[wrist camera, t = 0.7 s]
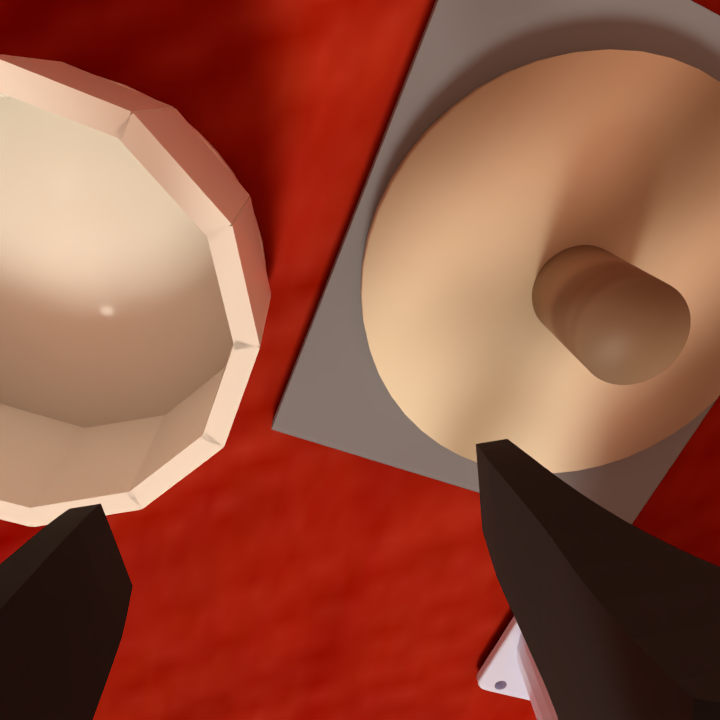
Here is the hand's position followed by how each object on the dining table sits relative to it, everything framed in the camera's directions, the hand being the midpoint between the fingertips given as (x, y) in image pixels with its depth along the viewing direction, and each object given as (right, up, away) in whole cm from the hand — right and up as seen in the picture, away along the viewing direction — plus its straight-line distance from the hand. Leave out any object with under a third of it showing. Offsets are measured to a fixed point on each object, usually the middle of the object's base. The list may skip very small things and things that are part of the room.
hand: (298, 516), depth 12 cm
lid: (+8, +5, +7) cm, 12 cm away
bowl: (-7, +6, +7) cm, 12 cm away
